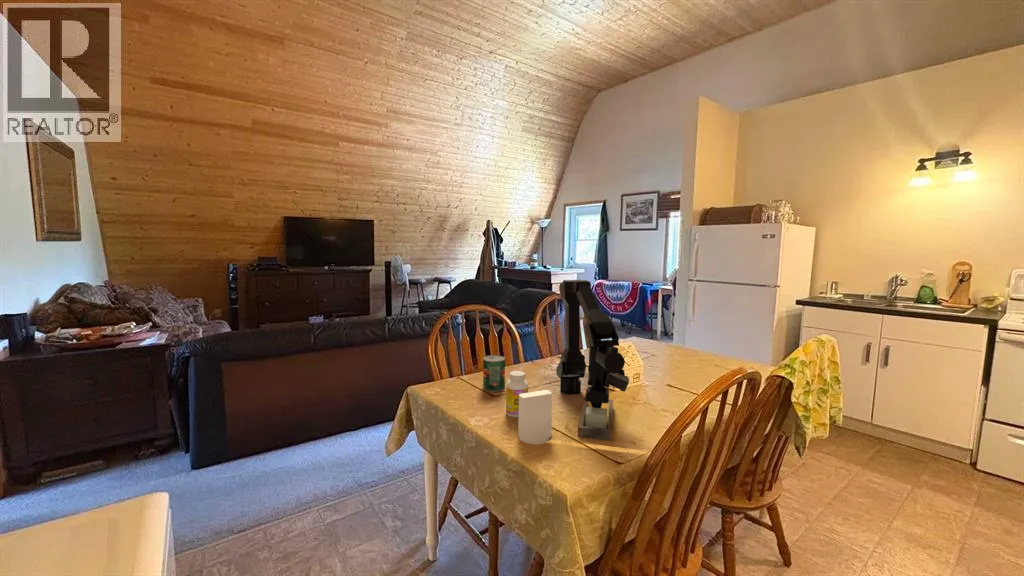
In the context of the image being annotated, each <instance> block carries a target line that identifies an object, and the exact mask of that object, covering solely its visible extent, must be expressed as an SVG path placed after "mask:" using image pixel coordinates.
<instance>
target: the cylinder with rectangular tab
mask: <svg viewBox="0 0 1024 576" xmlns="http://www.w3.org/2000/svg"><path fill="white" fill-rule="evenodd" d="M552 403H553V393H552V392H551V391H550V390H549V389H545V390H543V389H541V390H536V391H530V392H529V391H528V393H523V394H519V418H518V422H517V423H518V427H517V428H518V433H517V434H518V440H520V441H521V442H523V443H526V444H529V445H543V444H546V443H549V442H550V441H551V440H552V438H551V437H552V430H553V429H552V427H553V425H552V424H553V415H552V414H553V412H552V407H553V406H552V405H553V404H552Z"/></svg>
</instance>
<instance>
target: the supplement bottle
mask: <svg viewBox="0 0 1024 576" xmlns="http://www.w3.org/2000/svg"><path fill="white" fill-rule="evenodd" d="M525 378H526V372H524V371H522V370H513V371H510V372H509V380H508V381H506V383H505V389H506V391H505V392H506V393H505V397H506V398H505V413H506V415H507V416H508V417H511V418H518V419H519V394H523V393H529V383H528V382H527V381H526V380H525Z"/></svg>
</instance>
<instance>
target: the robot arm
mask: <svg viewBox="0 0 1024 576" xmlns="http://www.w3.org/2000/svg"><path fill="white" fill-rule="evenodd" d="M558 287H559V288H558V289H559V293H560V298H561V301H562V303H564V305H565V348H564V350H562V351H563V352H561V355H560V360H559V362H558V365H557V366H556V371H555V372H556V376H557V377H558V378H559V379H560V387H559V388H560V391H559V393H563V394H565V395H581V392H582V380H581V378H582V379H584V378H585V374H586V370H587V371H588V375H587V376H588V379H587V386H588V387H587V389H586V390H585V396H584V397H585V401H587V402H588V403H590V405H591V407H594V408H602V405H603V404H609V399H610V391H609V388H610V387H613V388H616V389H618V390H620V392H626V391H627V388H628V386H629V383H630V378H629V377H628V375H626V373H625V369H624V367H625V359H624V356H623V355H622V353H620V352H619V347H618V346H620V343H619V341H620V337H619V334H618V333H617V329H616V327H615V324H614V323H613V321H612V319H611V318H610V316H609V315H608V314H606V313H605V312H603V311H602V310H601V307H600V305H599V303H598V301H597V299H596V296H595V294H594V292H593V290H592V283H591V281H590V280H585V279H584V280H583V279H564V280H563V281H562V282H561V283H559V286H558ZM580 307H581V308H580ZM580 309H582V311H583V314H584V317H585V321H586V322H585V324H584V330H585V331H584V332H585V335H586V338H587V344H588V345H589V347H588V368H587V364H586V356H585V354H583V353H582V351H581V349H580V344H581V343H580V335H581V334H580V327H581V326H580V320H581V319H580V316H581V315H580V313H581V310H580Z"/></svg>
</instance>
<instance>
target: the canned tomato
mask: <svg viewBox="0 0 1024 576" xmlns="http://www.w3.org/2000/svg"><path fill="white" fill-rule="evenodd" d="M482 361H483V362H482V366H483V368H482V370H483V371H482V374H483V376H482V377H483V378H482V380H483V381H482V383H483V384H482V385H483V386H482V387H483V390H484V391H486V392H490V391H491V392H493V393H495V392H497V391H498V392H502V391H504V390H505V389H506V357H505V356H502V355H498V354H497V355H496V354H491V355H490V354H489V355H485V356H483V357H482Z"/></svg>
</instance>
